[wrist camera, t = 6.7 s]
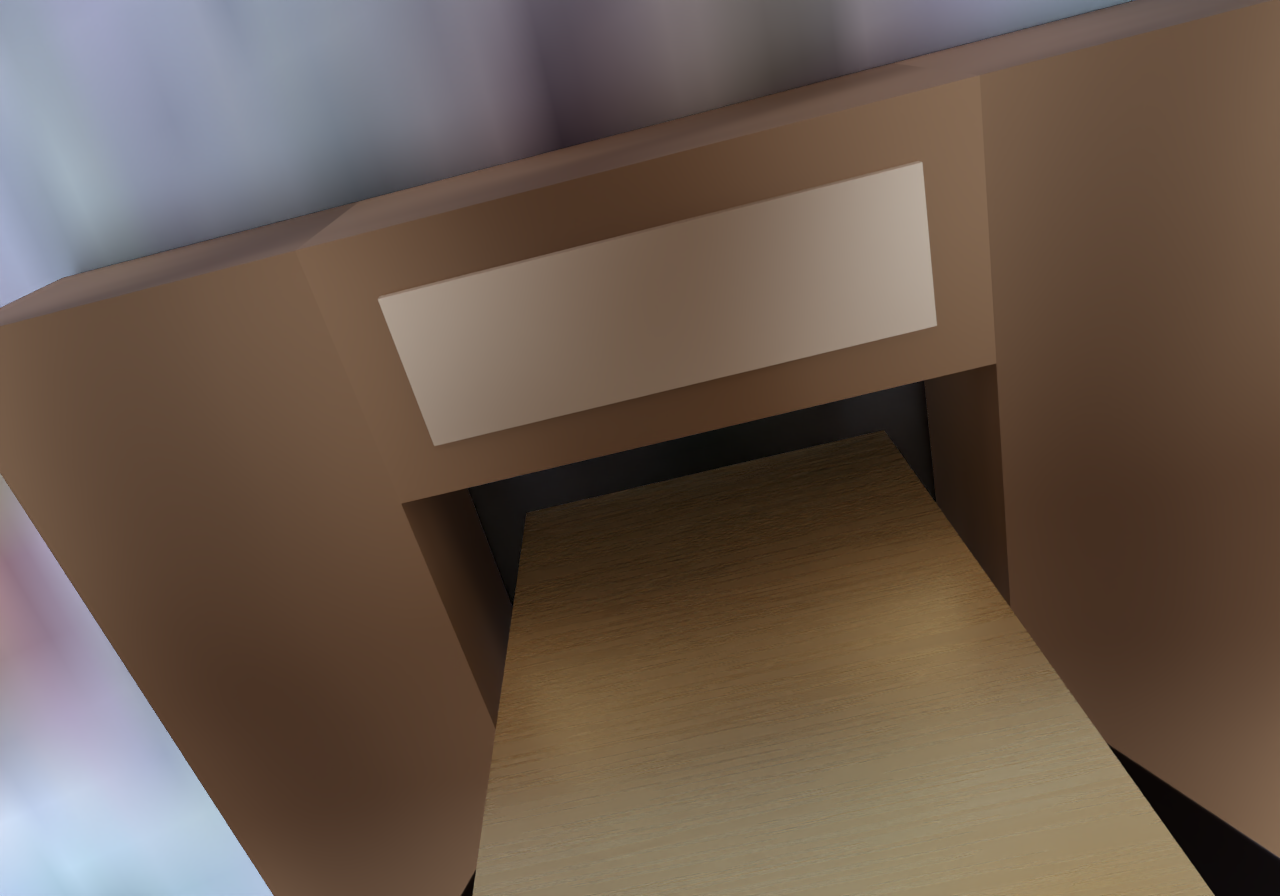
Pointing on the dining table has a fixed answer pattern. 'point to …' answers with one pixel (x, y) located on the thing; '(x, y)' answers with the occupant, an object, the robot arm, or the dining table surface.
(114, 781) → the dining table surface
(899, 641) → the peg block
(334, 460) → the rack plate
